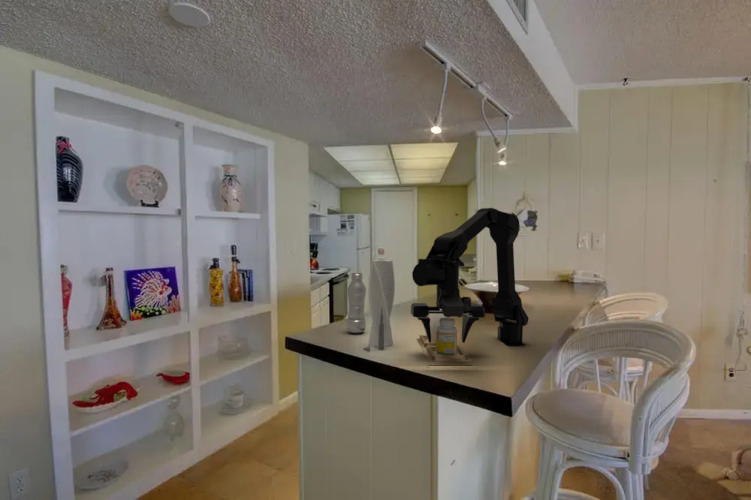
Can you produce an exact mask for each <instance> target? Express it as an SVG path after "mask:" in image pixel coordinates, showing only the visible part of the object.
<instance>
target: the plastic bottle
mask: <svg viewBox="0 0 751 500" xmlns="http://www.w3.org/2000/svg"><path fill="white" fill-rule="evenodd" d="M350 279H351V280H350V282H349V284H348V286H347V290H346V291H347V301H348V314H347V319H346V330H347V332H349V333H352V334H361V333H364V332H365V331H366V326H367V324H366V318H365V317H366V316H365V303H366V302H365V299H366V295H367V286H366V285H365V283H364V282H363V273H361V272H352V273H351V277H350Z"/></svg>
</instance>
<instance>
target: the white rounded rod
mask: <svg viewBox="0 0 751 500" xmlns="http://www.w3.org/2000/svg"><path fill="white" fill-rule="evenodd" d="M440 310H442V309H440ZM429 318H430V331H431V342H437V328H438V327H439V326H440V323H439V320H440V318H447V317H445V316H444V315H443V314H431V313H429Z"/></svg>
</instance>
